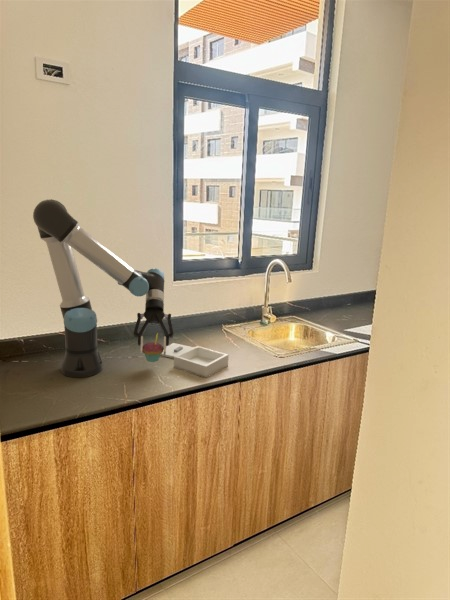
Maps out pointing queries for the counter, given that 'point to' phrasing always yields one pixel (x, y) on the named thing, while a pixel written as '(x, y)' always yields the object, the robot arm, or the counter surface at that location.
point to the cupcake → (153, 350)
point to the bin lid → (175, 350)
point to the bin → (201, 361)
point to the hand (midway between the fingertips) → (153, 352)
